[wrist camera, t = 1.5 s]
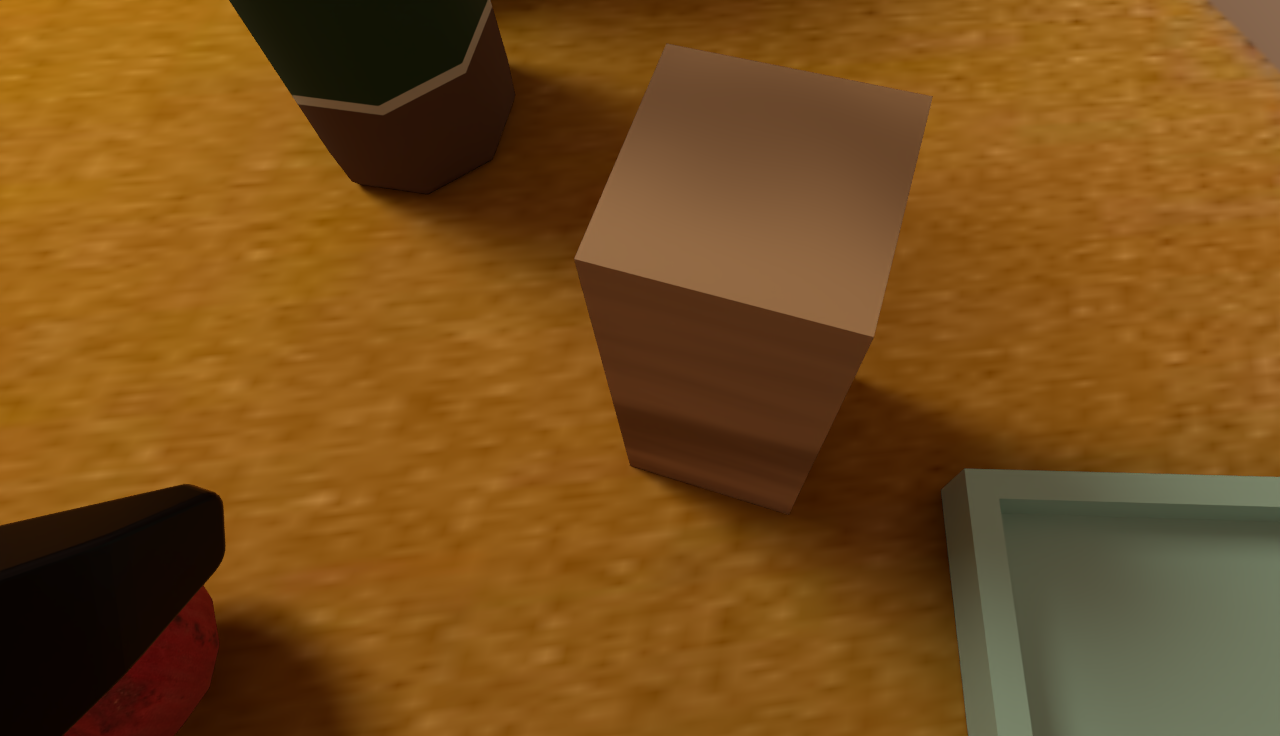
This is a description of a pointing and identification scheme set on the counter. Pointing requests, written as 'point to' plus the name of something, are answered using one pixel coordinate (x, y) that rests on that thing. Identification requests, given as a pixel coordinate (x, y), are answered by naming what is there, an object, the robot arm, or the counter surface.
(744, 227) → the walnut block
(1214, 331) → the counter surface
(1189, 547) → the teal tray
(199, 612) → the onion
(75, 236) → the counter surface
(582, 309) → the counter surface
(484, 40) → the beer bottle
